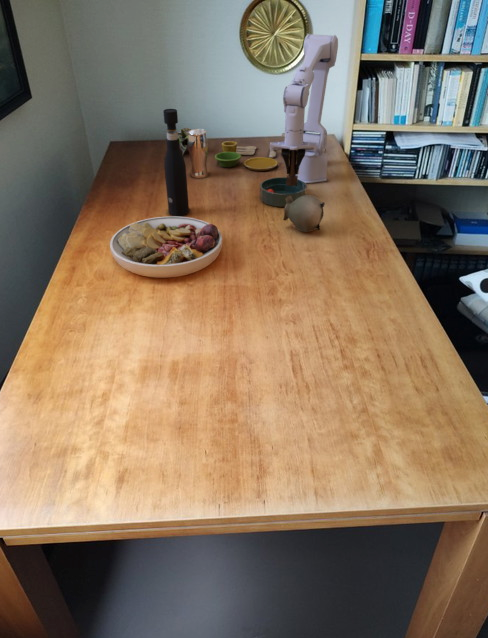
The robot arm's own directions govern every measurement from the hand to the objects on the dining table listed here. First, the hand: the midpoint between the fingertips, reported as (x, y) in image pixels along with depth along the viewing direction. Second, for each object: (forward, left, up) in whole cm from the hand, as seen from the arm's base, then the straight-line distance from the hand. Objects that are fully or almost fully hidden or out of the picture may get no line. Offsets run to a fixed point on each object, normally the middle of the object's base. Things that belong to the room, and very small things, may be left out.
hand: (292, 173), depth 177 cm
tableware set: (-6, -38, -9) cm, 40 cm away
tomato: (+7, -2, -6) cm, 10 cm away
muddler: (0, +1, -3) cm, 4 cm away
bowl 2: (+3, -1, -8) cm, 9 cm away
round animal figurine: (+5, +23, -9) cm, 25 cm away
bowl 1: (+47, +27, -9) cm, 55 cm away
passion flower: (+24, -56, -9) cm, 61 cm away
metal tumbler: (+24, -31, -9) cm, 40 cm away
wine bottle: (+38, -1, -9) cm, 39 cm away
